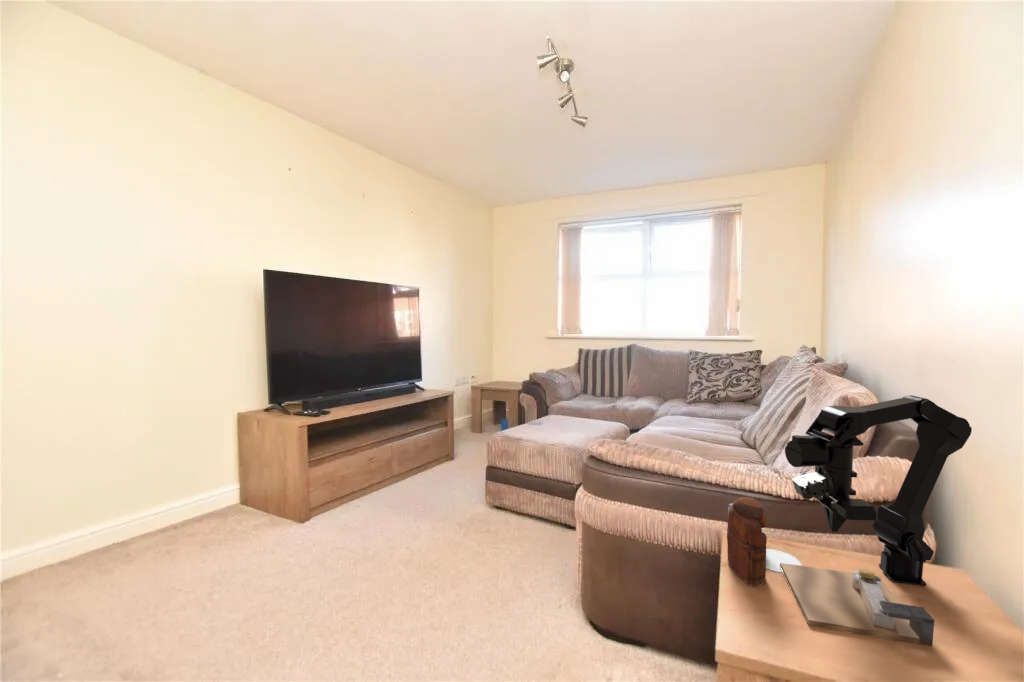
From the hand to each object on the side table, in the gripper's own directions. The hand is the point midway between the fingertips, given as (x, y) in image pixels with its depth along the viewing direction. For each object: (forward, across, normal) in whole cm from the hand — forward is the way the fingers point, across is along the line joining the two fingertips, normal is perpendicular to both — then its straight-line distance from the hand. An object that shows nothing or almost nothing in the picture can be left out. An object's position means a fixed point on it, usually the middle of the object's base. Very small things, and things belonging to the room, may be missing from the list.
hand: (833, 531), depth 103 cm
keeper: (+12, +17, +3) cm, 21 cm away
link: (+10, +10, +2) cm, 14 cm away
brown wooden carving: (+12, -2, -18) cm, 21 cm away
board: (+12, +8, -2) cm, 14 cm away
